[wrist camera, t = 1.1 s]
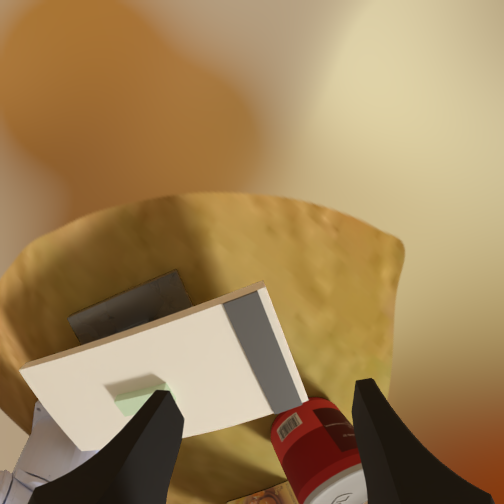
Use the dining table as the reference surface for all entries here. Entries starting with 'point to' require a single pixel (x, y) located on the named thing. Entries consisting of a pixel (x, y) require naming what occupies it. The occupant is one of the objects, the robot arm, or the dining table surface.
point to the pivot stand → (131, 308)
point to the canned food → (319, 454)
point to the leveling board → (174, 371)
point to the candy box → (270, 496)
